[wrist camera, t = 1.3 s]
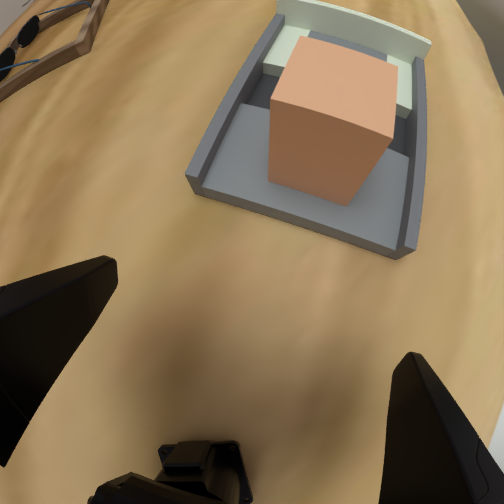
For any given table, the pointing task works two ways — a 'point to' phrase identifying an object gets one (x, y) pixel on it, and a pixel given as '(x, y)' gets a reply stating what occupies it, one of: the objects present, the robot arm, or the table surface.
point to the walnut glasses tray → (62, 54)
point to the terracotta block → (330, 119)
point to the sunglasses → (23, 43)
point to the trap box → (258, 125)
